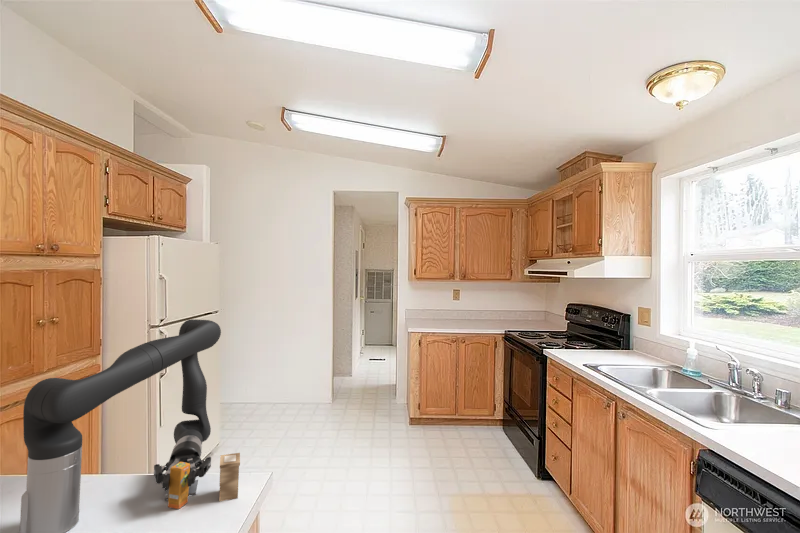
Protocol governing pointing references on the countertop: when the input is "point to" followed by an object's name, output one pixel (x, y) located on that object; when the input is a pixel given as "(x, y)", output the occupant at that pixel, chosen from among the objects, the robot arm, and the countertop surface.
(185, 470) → the supplement box
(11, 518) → the countertop surface
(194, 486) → the coaster
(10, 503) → the countertop surface
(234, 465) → the box
